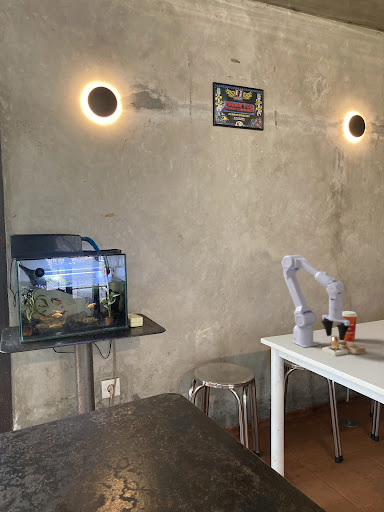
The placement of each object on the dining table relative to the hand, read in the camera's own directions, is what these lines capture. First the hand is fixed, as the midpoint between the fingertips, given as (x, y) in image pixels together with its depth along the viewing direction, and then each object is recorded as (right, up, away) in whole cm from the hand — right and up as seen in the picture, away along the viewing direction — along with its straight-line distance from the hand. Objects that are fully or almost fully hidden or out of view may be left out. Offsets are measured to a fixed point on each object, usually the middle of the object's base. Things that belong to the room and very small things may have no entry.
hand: (335, 337), depth 173 cm
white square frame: (0, -7, +1) cm, 7 cm away
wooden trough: (+8, -6, +3) cm, 11 cm away
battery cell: (0, -7, +1) cm, 7 cm away
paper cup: (+14, -5, +19) cm, 24 cm away
